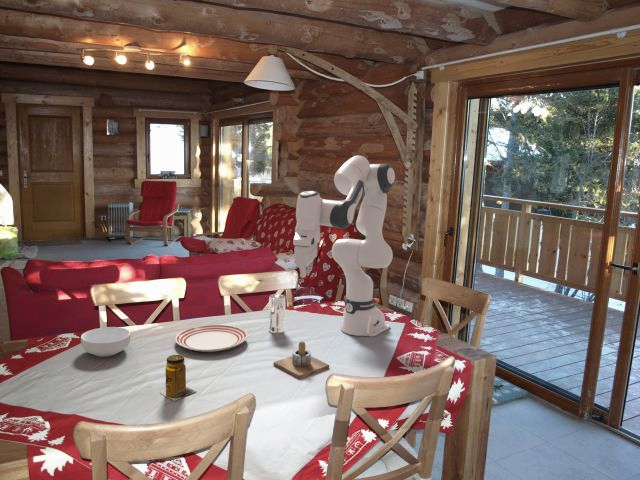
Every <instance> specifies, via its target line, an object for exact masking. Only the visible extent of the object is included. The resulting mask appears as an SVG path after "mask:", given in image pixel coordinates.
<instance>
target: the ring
mask: <svg viewBox="0 0 640 480" xmlns="http://www.w3.org/2000/svg"><path fill="white" fill-rule="evenodd" d="M291 356H292V364H293V365H294V366H296V367H307V366H309V365H310V364H311V356H312V352H311V351H310V350H308V349H305V355H298V349H294V350H293V351H292V355H291Z"/></svg>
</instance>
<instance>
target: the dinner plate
mask: <svg viewBox="0 0 640 480" xmlns="http://www.w3.org/2000/svg"><path fill="white" fill-rule="evenodd" d="M247 339H248V332H247V331H246V330H244V329H243V328H241V327H238V326H233V325H231V324H205V325H204V324H203V325H198V326H197V325H196V326H194V327H190V328H186V329H185V330H182V331H180V332H179V333H178V334H177V335H176V336H175V338H174V341H175V342H176V344H177V345H179V346H180V347H183V348H185V349H187V350H191V351H194V352H195V351H197V352H203V353H215V352H221V351H227V350H229V349H232V348H235V347H238V346H239V345H241V344H243V343H245V341H246V340H247Z"/></svg>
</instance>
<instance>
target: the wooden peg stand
mask: <svg viewBox="0 0 640 480" xmlns="http://www.w3.org/2000/svg"><path fill="white" fill-rule="evenodd" d="M297 350H298V355H305V350H306V342H305V341H299V342H298V349H297ZM272 364H273V366H274V367H277V368H278V369H280V370H282V371H284V372H285V373H287V374H289V375H290V376H293V377H295V378H297V379H298V380H300V379H303V378H306V377H308V376H312V375H313V374H316V373H319V372H322V371H324V370H325V371H326V370H327V369H330V364H328V363H326V362H324V361H322V360H319V358H315V357H314V356H312V355H311V364H310V365H309V366H307V367H296V366H294V365H293V364H292V355H291V356H287V357H284V358H281V359H278V360H275V361H273V363H272Z"/></svg>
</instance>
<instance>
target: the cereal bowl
mask: <svg viewBox="0 0 640 480" xmlns="http://www.w3.org/2000/svg"><path fill="white" fill-rule="evenodd" d="M130 342H131V332H130V330H128V329H126V328H123V327H120V326H119V327H117V326H108V327H99V328H94V329H91V330H87V331H86V332H83V333H82V334H81V336H80V344H81V347H82V348H83V350H84V351H85V352H87V353H88V354H90V355H94V356H96V357H100V358H106V357H112V356H115V355H116V354H118V353H120V352H122V351H124V350H125V349H126V348H127V347H128V346H129V344H130Z"/></svg>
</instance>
